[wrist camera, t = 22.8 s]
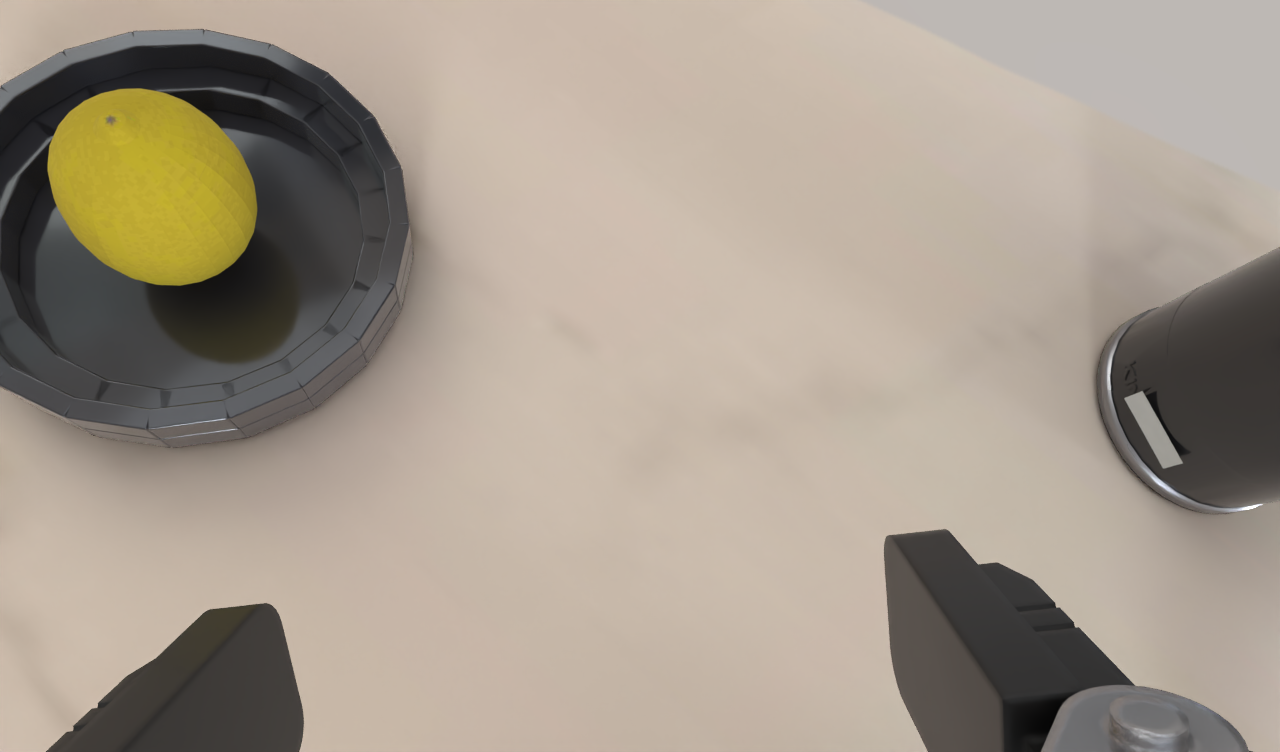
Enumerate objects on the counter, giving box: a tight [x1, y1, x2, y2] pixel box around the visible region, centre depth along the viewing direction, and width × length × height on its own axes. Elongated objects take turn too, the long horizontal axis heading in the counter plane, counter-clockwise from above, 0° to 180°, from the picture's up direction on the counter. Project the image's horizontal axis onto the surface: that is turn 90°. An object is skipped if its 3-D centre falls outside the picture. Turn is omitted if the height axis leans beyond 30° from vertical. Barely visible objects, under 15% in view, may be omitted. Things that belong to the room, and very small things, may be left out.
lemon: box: [48, 88, 257, 286], centre depth 27 cm, size 6×6×8 cm
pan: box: [0, 29, 413, 448], centre depth 30 cm, size 15×15×3 cm
